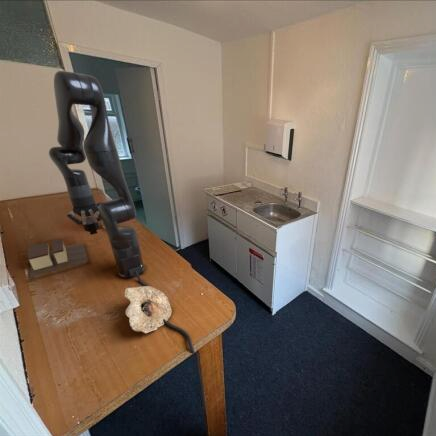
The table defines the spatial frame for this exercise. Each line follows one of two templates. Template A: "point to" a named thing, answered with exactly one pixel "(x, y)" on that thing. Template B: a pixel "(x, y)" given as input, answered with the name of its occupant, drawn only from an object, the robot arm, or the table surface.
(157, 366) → the table surface
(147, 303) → the seashell
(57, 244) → the cake slice
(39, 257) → the cake
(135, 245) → the robot arm
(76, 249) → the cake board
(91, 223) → the knife
